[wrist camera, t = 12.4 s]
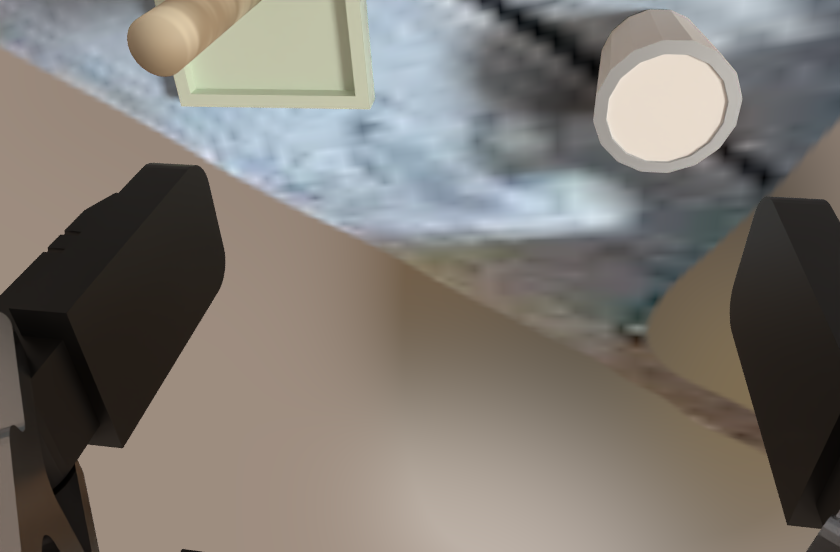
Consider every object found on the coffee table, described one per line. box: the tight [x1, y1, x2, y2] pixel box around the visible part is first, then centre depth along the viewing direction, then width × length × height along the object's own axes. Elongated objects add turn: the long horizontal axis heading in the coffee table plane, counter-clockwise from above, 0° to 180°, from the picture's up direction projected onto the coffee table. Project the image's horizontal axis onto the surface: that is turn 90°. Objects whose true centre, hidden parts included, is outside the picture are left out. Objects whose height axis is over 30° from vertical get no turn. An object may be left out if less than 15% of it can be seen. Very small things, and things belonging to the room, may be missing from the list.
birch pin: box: [127, 0, 262, 77], centre depth 35 cm, size 3×3×12 cm
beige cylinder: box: [593, 9, 742, 173], centre depth 37 cm, size 7×7×7 cm
